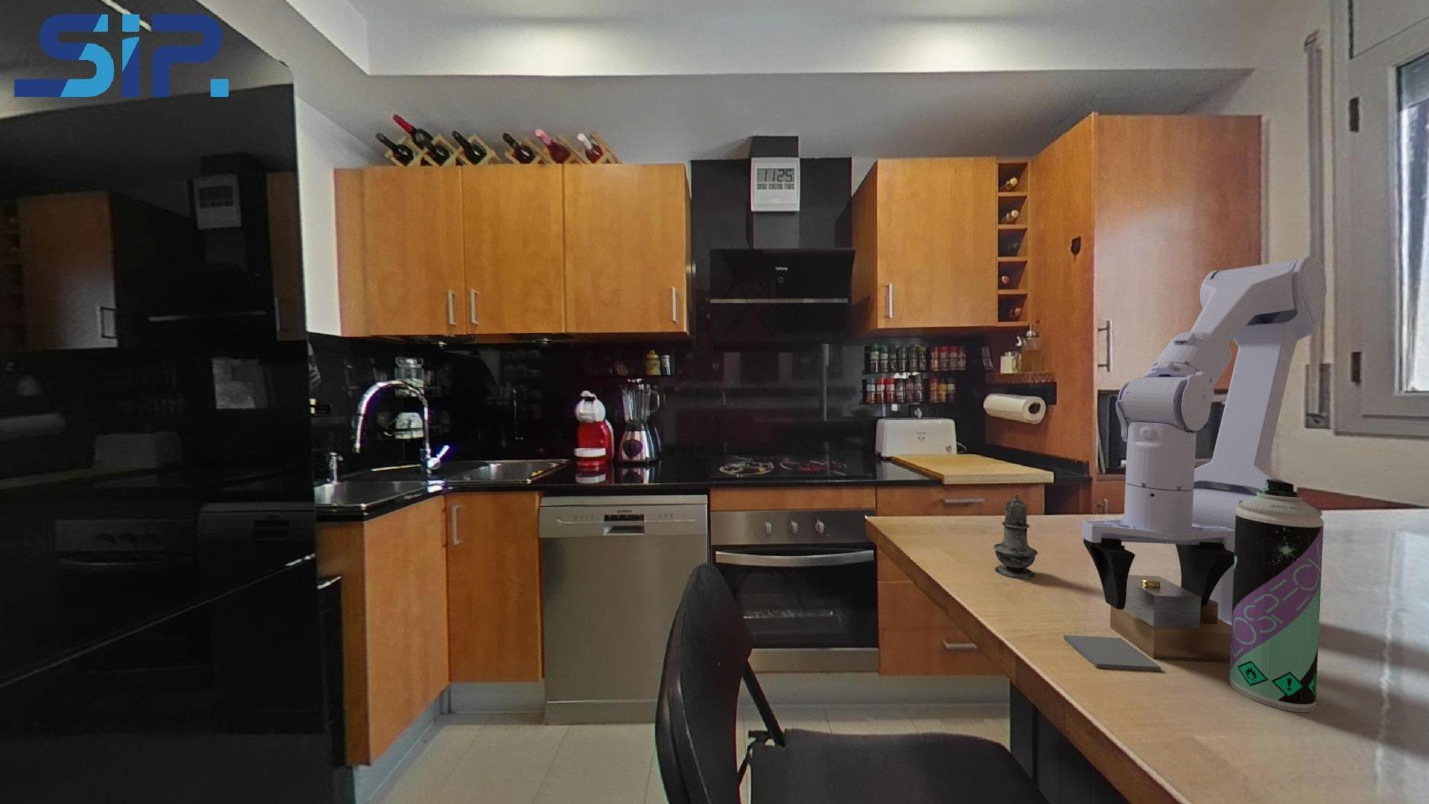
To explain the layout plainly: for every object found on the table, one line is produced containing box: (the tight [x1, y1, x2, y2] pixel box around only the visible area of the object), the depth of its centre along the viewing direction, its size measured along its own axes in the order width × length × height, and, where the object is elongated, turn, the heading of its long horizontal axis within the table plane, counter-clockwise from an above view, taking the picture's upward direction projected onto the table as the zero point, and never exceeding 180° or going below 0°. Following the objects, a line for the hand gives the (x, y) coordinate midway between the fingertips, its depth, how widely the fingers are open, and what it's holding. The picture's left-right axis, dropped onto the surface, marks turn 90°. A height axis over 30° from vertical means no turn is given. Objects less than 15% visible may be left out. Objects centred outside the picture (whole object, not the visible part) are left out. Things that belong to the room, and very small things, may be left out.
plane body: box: [1109, 599, 1231, 663], centre depth 58 cm, size 9×7×5 cm
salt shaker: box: [992, 493, 1039, 580], centre depth 79 cm, size 6×6×12 cm
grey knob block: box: [1124, 574, 1201, 630], centre depth 58 cm, size 4×6×4 cm
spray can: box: [1229, 479, 1325, 713], centre depth 48 cm, size 6×6×20 cm
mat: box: [1063, 634, 1162, 672], centre depth 56 cm, size 6×6×1 cm
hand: (1153, 607), depth 58 cm, fingers open, 7 cm apart
